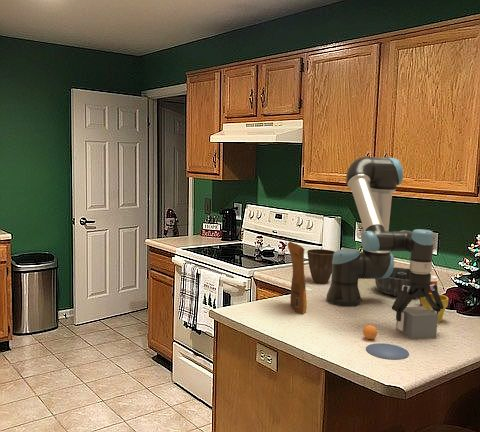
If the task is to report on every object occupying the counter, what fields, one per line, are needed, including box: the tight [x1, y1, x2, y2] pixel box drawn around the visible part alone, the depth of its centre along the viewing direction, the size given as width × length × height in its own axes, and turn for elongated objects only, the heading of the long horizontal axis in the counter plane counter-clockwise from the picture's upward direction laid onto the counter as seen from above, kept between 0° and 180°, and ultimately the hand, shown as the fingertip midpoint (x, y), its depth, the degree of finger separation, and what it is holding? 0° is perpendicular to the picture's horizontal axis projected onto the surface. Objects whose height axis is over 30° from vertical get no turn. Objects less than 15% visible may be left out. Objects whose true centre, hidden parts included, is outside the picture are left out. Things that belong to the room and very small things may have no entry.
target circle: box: [365, 342, 410, 361], centre depth 175 cm, size 14×14×1 cm
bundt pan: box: [374, 266, 412, 297], centre depth 252 cm, size 26×26×10 cm
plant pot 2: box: [421, 293, 449, 323], centre depth 211 cm, size 10×10×10 cm
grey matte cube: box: [395, 305, 438, 340], centre depth 193 cm, size 10×10×9 cm
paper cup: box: [419, 274, 439, 307], centre depth 228 cm, size 8×8×14 cm
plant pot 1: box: [307, 248, 336, 285], centre depth 267 cm, size 15×15×16 cm
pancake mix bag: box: [287, 241, 308, 315], centre depth 219 cm, size 7×19×28 cm, turn 6°
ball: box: [362, 324, 378, 340], centre depth 186 cm, size 5×5×5 cm
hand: (416, 328), depth 193 cm, fingers open, 13 cm apart
